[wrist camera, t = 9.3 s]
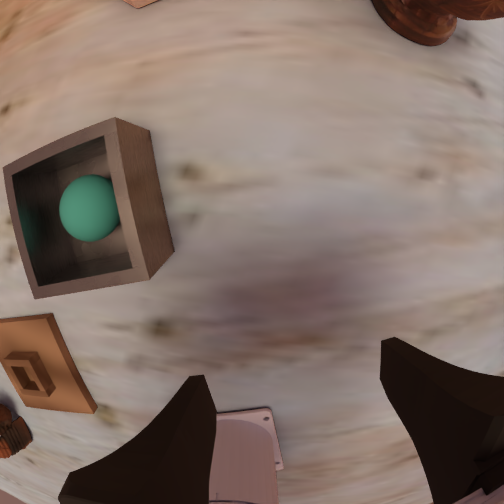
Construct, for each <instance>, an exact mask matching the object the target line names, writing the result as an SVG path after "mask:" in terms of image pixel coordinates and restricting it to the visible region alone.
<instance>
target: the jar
mask: <svg viewBox="0 0 504 504" xmlns="http://www.w3.org/2000/svg"><path fill="white" fill-rule="evenodd" d="M123 1H125V2H127V3H129V4H130V5H132V6H134V7H136V8H140V7H143V6H145V5H147V4H150V3H152V2H155V1H157V0H123Z"/></svg>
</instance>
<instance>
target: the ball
mask: <svg viewBox="0 0 504 504" xmlns="http://www.w3.org/2000/svg"><path fill="white" fill-rule="evenodd" d="M59 212H60V218H61V221H62V224H63V226H64V228H65V229H66V230H67V232H68V233H69V234H71V235H72V236H73V237H75V238H76V239H79V240H82V241H86V242H93V241H98V240H101V239H103V238H105V237H107V236H108V235H109V234H111V233H112V232H113V231H114V229H115V228H116V227H117V225H118V223H119V221H120V216H119V212H118V207H117V203H116V198H115V193H114V188H113V183H112V182H111V181H110V180H109V179H107V178H105V177H103V176H100V175H95V174H90V175H84V176H81V177H79V178H77V179H75V180H74V181H73V182H71V183H70V184H69V185H68V186H67V188H66V189H65V191H64V193H63V195H62V197H61V200H60V206H59Z"/></svg>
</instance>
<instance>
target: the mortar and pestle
mask: <svg viewBox="0 0 504 504" xmlns="http://www.w3.org/2000/svg"><path fill="white" fill-rule="evenodd" d="M372 1H373V4H374V6H375V8H376V10H377V12H378V13H379V15H380V16H381V17H382V18H383V19H384V20H385V22H386V23H387V24H388V25H389V26H390V27H391V28H392V29H393V30H395V31H396V32H397V33H399V34H401V35H403V36H404V37H406V38H408V39H410V40H412V41H415V42H418V43H420V44H423V45H428V46H436V45H439V44H442V43H444V42H446V41H447V40H448V39H449V37H450V36H451V35H452V33H453V32H454V31H455V28H456V23H457V17H458V18H460V19H465V20H490V19H496V18H502V17H504V0H372Z"/></svg>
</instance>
